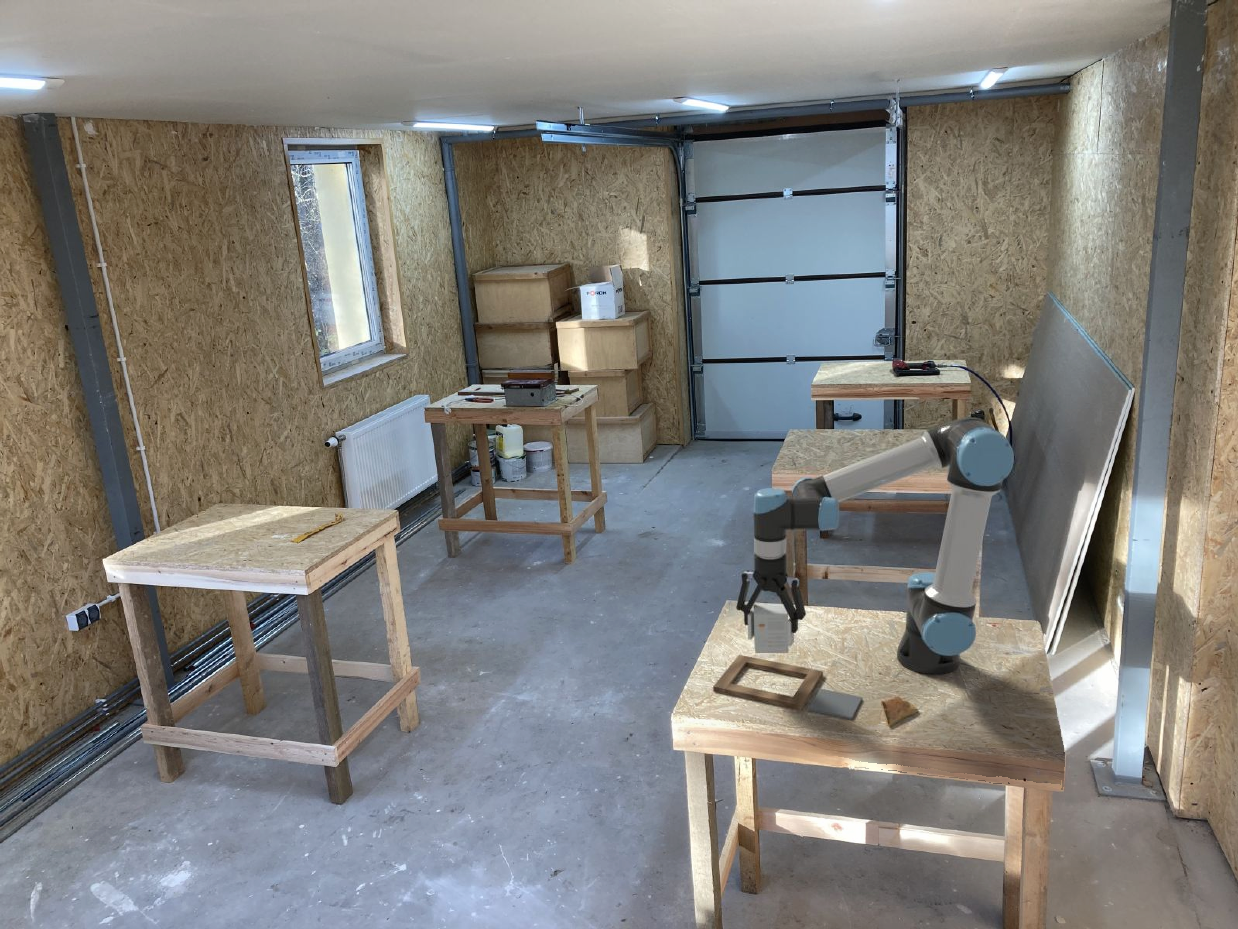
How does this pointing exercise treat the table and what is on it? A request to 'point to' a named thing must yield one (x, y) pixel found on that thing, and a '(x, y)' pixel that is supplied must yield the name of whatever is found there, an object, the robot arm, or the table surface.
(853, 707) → the pad
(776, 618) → the small box
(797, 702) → the wooden picture frame
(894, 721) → the shard
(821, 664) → the table surface
